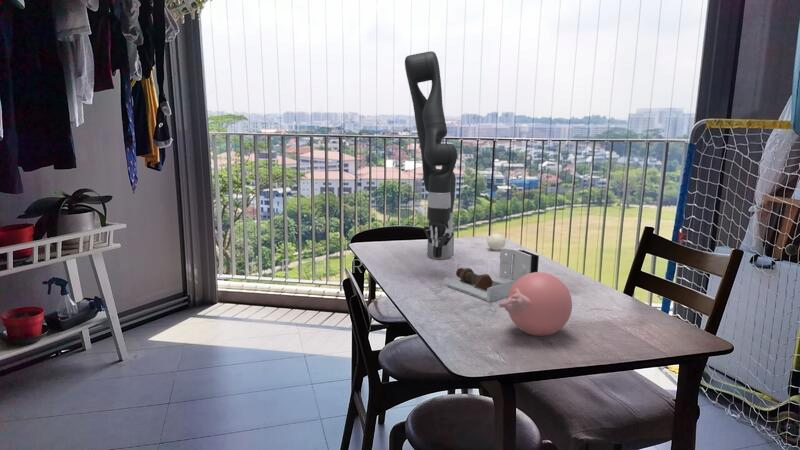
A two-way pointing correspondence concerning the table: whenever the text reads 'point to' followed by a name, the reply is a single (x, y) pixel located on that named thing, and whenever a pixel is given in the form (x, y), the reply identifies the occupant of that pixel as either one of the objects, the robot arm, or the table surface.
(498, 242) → the white ball
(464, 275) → the bolt
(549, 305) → the balloon
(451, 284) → the tray
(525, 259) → the hinge
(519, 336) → the table surface
